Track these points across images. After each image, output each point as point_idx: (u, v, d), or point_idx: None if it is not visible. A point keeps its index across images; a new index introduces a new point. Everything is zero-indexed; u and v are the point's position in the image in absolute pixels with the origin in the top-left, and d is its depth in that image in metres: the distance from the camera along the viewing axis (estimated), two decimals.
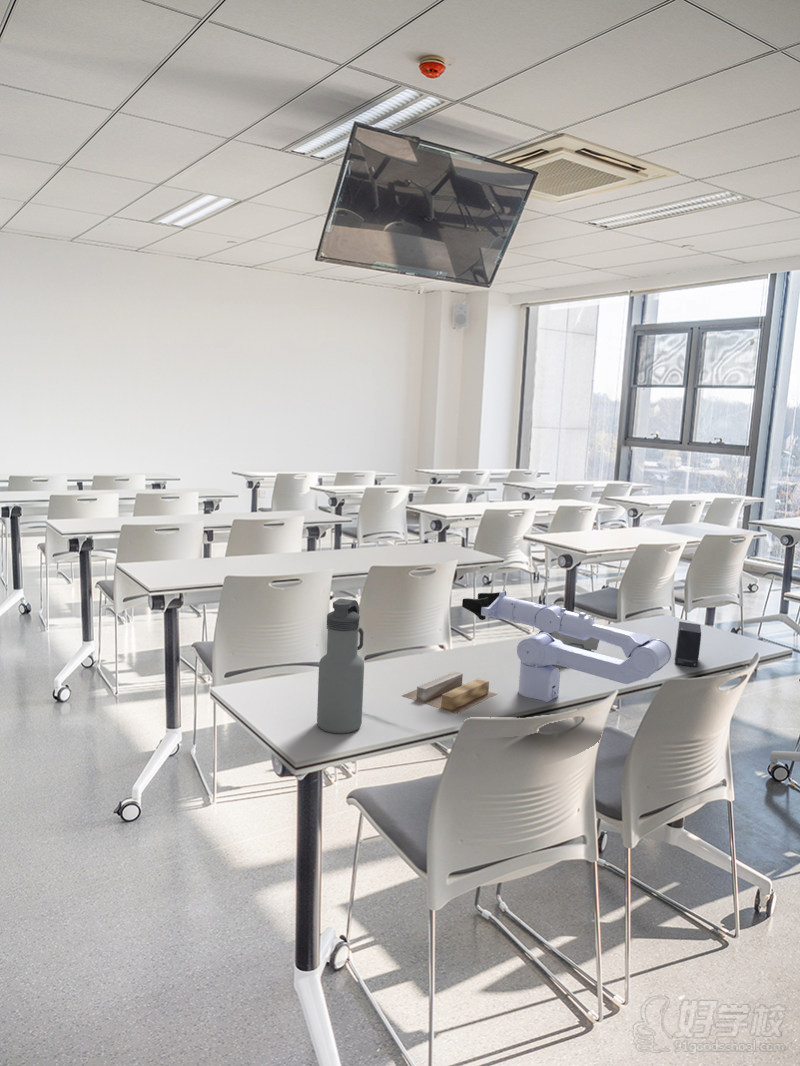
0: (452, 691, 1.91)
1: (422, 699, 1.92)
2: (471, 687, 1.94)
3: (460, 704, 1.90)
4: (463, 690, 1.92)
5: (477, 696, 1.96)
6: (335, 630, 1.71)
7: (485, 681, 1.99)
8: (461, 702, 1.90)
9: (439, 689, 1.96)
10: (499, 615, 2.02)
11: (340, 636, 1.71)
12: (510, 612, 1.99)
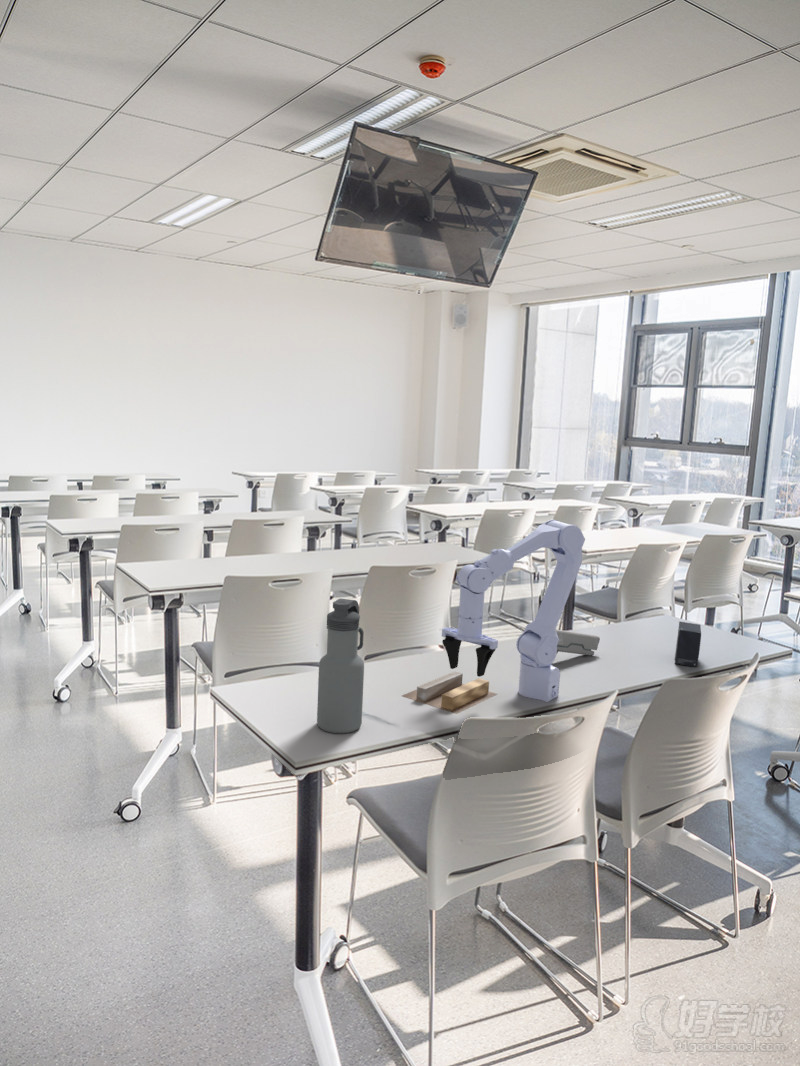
0: (452, 691, 1.91)
1: (422, 699, 1.92)
2: (471, 687, 1.94)
3: (460, 704, 1.90)
4: (463, 690, 1.92)
5: (477, 696, 1.96)
6: (335, 630, 1.71)
7: (485, 681, 1.99)
8: (461, 702, 1.90)
9: (439, 689, 1.96)
10: (481, 632, 1.91)
11: (340, 636, 1.71)
12: (480, 621, 1.90)
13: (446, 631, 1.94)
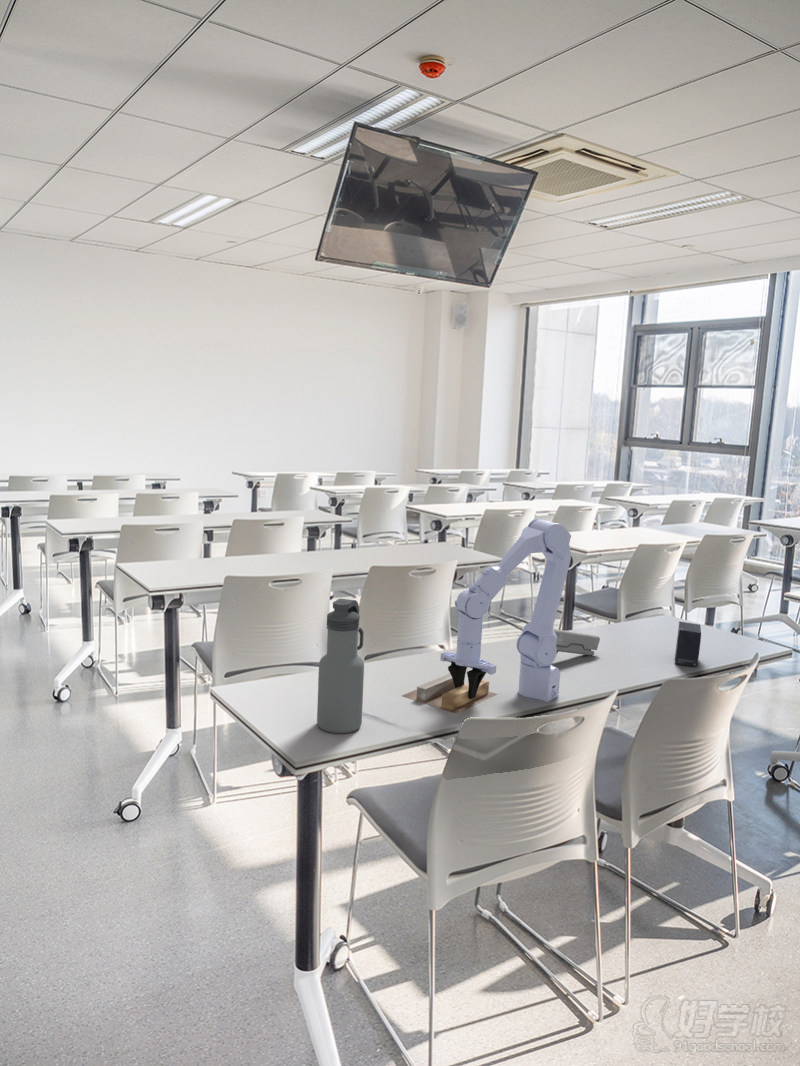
0: (452, 691, 1.91)
1: (422, 699, 1.92)
2: None
3: (460, 704, 1.90)
4: (463, 690, 1.92)
5: (477, 696, 1.96)
6: (335, 630, 1.71)
7: (485, 681, 1.99)
8: (461, 702, 1.90)
9: (439, 689, 1.96)
10: None
11: (340, 636, 1.71)
12: (479, 646, 1.90)
13: (445, 655, 1.95)
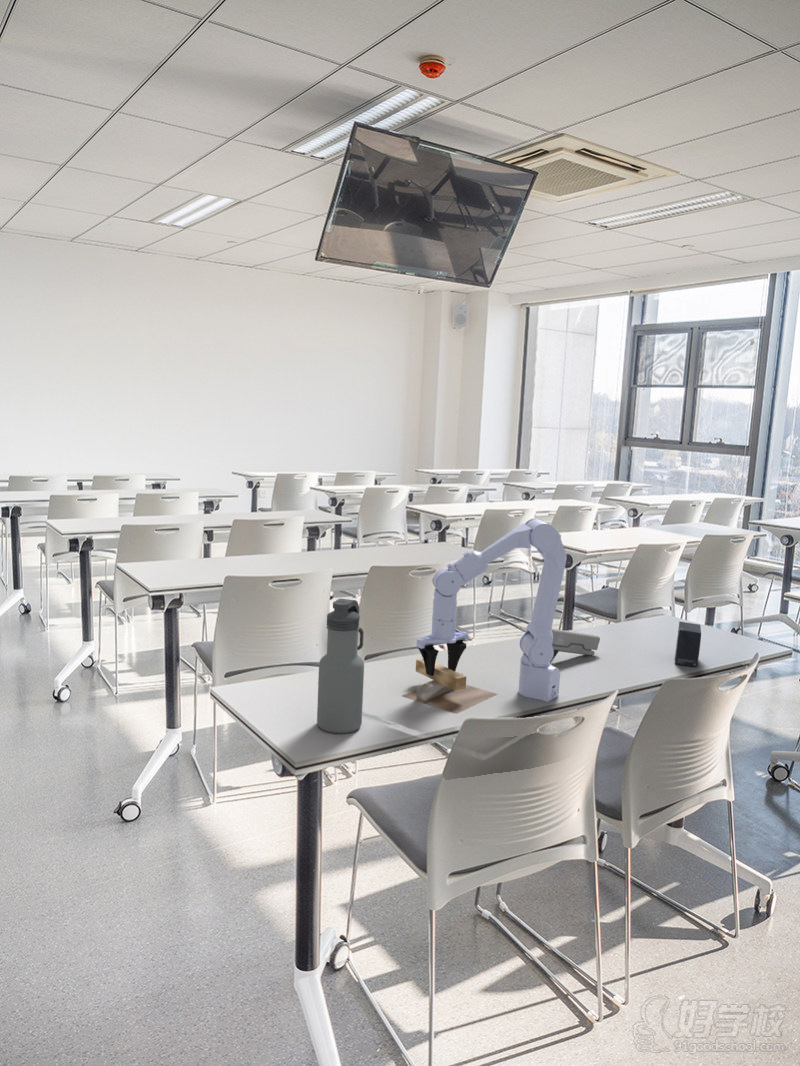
0: (449, 673, 1.94)
1: (422, 699, 1.92)
2: (440, 666, 1.99)
3: None
4: (448, 670, 1.97)
5: None
6: (335, 630, 1.71)
7: None
8: None
9: (439, 689, 1.96)
10: None
11: (340, 636, 1.71)
12: None
13: (426, 641, 1.92)
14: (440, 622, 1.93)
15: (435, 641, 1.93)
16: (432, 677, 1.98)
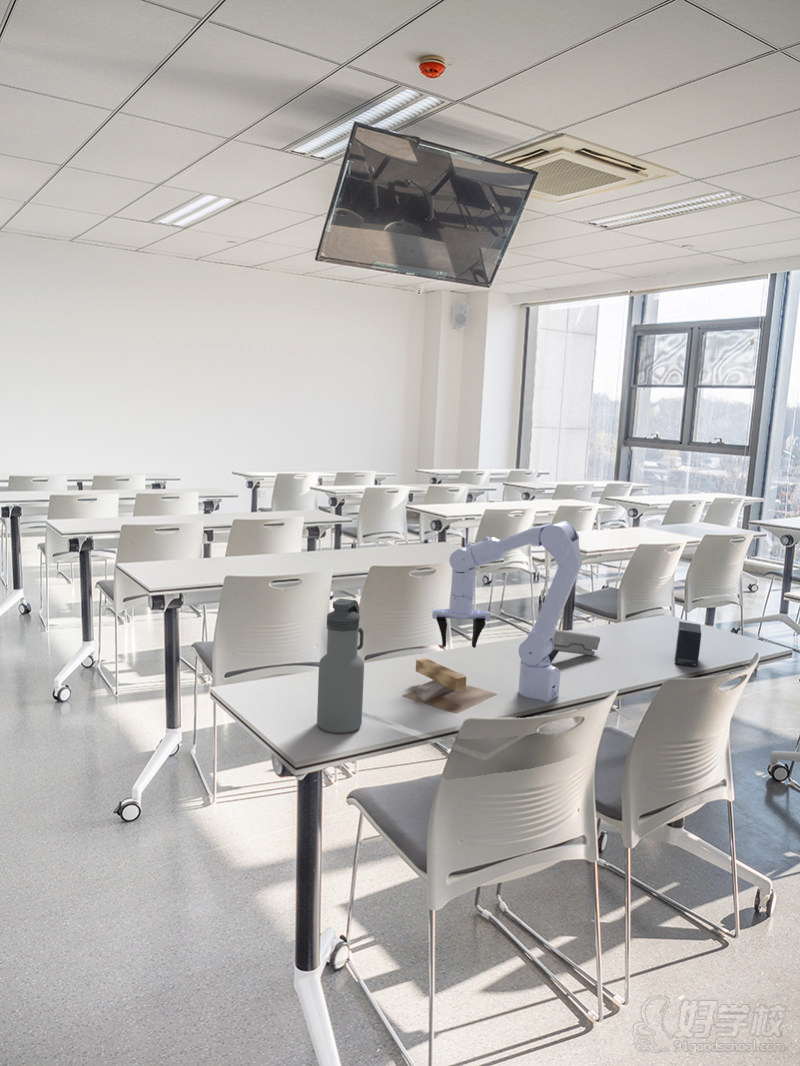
0: (449, 673, 1.94)
1: (422, 699, 1.92)
2: (440, 666, 1.99)
3: None
4: (448, 670, 1.97)
5: None
6: (335, 630, 1.71)
7: (425, 659, 2.04)
8: None
9: (439, 689, 1.96)
10: None
11: (340, 636, 1.71)
12: None
13: (438, 613, 2.06)
14: (453, 596, 2.05)
15: (447, 614, 2.05)
16: (432, 677, 1.98)
